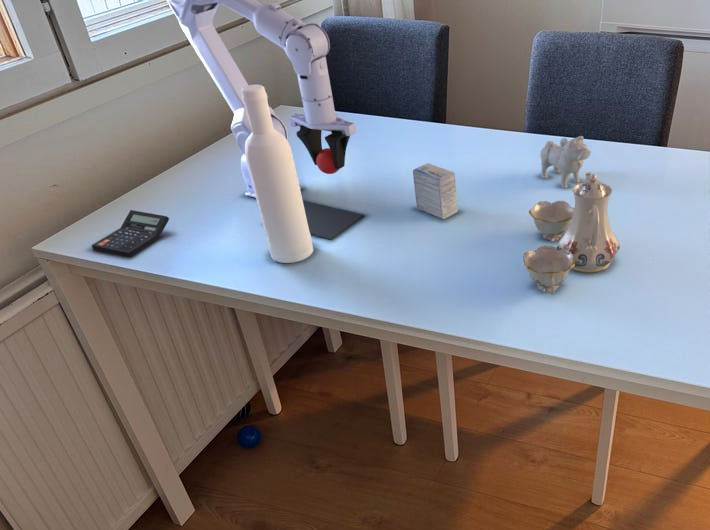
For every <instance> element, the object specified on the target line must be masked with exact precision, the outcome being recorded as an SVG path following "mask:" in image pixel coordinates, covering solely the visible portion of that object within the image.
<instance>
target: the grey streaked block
mask: <svg viewBox="0 0 710 530" xmlns="http://www.w3.org/2000/svg"><path fill="white" fill-rule="evenodd" d="M412 178H413V186H414V194H415V203H416V209H417V210H419V211H421V212H424V213H427V214H429V215H432V216H434V217H437V218H439V219H442V220H445V219H448V218H449V217H451V216H453V215H455V214H457V213H459V209H458V196H457V195H458V194H457V183H456V182H457V181H456V173H455V172H454V171H451V170H449V169H446V168H443V167H441V166H438V165H434V164H431V163H429V162H427V163H425V164H423V165H420V166H418V167H416V168H414V169H413V170H412Z"/></svg>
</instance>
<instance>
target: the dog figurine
mask: <svg viewBox="0 0 710 530" xmlns="http://www.w3.org/2000/svg"><path fill="white" fill-rule="evenodd" d="M591 154H592V151H591V150H590V149H589V148H588V146H587V144H586V143H585V142H584V136H583V135H579V136H577V137H573V138H572V139H570V140H568V139H567V138H565V137H563V138H561V139H560V141H559V144H557V143H555V142H554V141H551V140H548V141H546V143H545V144H544V146H543V148H542V149H541V150H540V152H539V156H540V160H541V163H540V166H541V178H542V179H548V178H549V176H548V174H547V170H548V168H550V167H552V168H553V173H554V174H560V178H561V179H560V181H561V182H560V187H561V188H563V189H566V188H568V187H569V185H568V181H569V178H570V175H571V174H572V181H573V183H575V184H580V182H581V180H580V176H579V175H580V170H581V169H582V167H583V165H584V160H587V159H588V158H589V157H590V156H591Z"/></svg>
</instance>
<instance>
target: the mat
mask: <svg viewBox="0 0 710 530" xmlns="http://www.w3.org/2000/svg"><path fill="white" fill-rule="evenodd" d="M302 200H303V205H304V209H305V214H306V218H307V223H308V228H309V232H310V235H311V236H314V237H317V238H320V239H325V240H328V241H332V240H333V239H334V238H336V237H338V236H339V235H340V234H341V233H343V232H344V231H346V230H348V229H349V228H350V227H351V226H353V225H354V224H356V223H357V222H358V221H360V220H361V219H363V218H364V217H365V214H364V213H360V212H355V211H352V210H346V209H343V208H338V207H334V206H330V205H324V204H321V203H316V202H312V201H308V200H304V199H302Z"/></svg>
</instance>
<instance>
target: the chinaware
mask: <svg viewBox="0 0 710 530" xmlns="http://www.w3.org/2000/svg"><path fill="white" fill-rule="evenodd" d="M584 178H585V179H584V182H581V183H576V185H575V186H572V187H573V188H572V193H573V195H574V207H572V206H571V205H570V204H569V203H568V202H567V201H565V200H557V201H553V202H550V201H547V200H542V201H538V202H537V203H535V205H534V206H533V207H532V208H530V209H529V210H528V214H529V215H530V216H531V217H532V218H533V221H534V225H535V227H536V229H537V230H538V231H539V232H540V233H541V234H542V236H543V240H547V241H552V242H554V241H558V242H557V244H556V247H554V246H552V245H543V246H542V245H541V246H539V247H537V248H536V249H535V250H527V251H526V252H525V253H523V264H524V267H525V268H526V269H527V272H528V275H529V278H531V280H532V281H533V282H534V283H535V284H537V286H536V287H537V288H538V289H539V290H540V291H541V292H547V293H550V295H551V296H553V295H554V294H555V292H556V290H557V289H558V288H559V286H560V284H562V283H563V282H564V281H565V280H566V279H567V277H568V275H569V273H570V271H573V272H576V273H581V274H598V273H601V272H603V271H606V270H607V269H608V268H610V266H611V263H612V262H613V260H614V259H615V257H616V254H617V253H618V252H619V250H620V248H621V245H620V242H619V239H618V238H617V236H616V235H615V232H614V231H613V229H612V228H611V224H610V220H609V213H608V206H609V200H610V196H611V195H612V193H613V189H612V188H611V186H609V185H607V184H606V183H602V182H601V181H600V180H598V179H599V178H598V176H596V173H592V172H587V173H585V175H584Z"/></svg>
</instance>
